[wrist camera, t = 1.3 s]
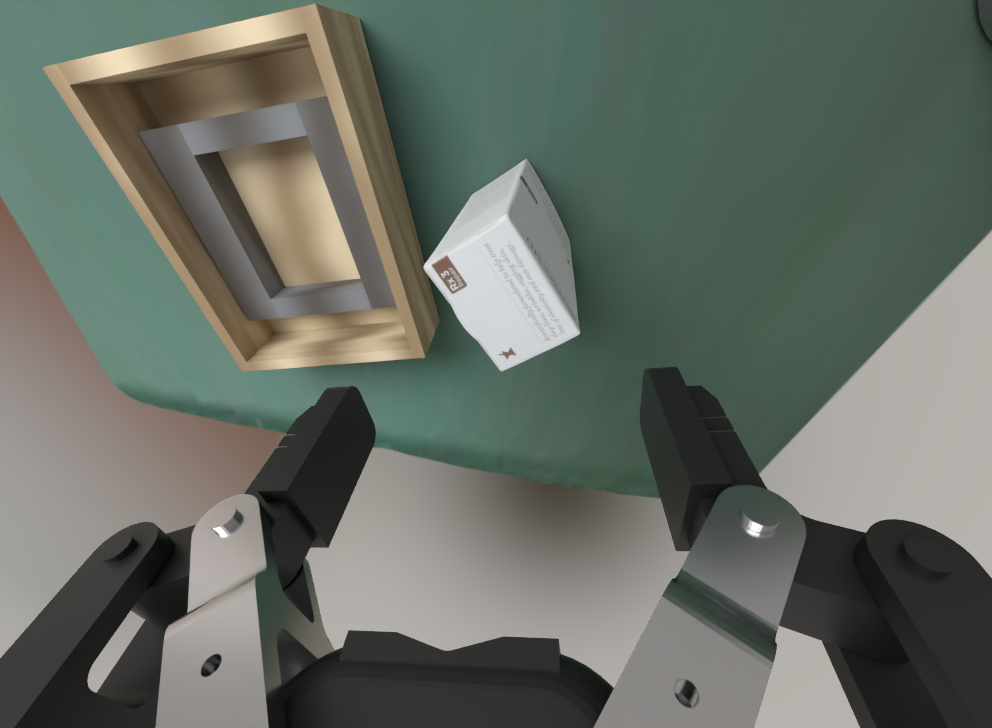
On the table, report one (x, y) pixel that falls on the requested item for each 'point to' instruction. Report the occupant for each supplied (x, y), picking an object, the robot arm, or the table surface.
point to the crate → (267, 184)
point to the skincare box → (509, 269)
